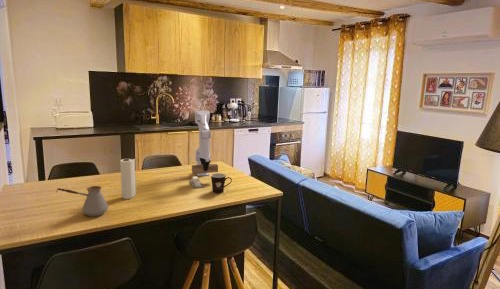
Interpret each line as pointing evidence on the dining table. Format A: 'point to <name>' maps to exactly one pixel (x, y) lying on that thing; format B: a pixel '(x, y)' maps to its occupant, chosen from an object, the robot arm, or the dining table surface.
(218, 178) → the coffee mug
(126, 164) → the paper towel roll
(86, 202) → the coffee pot
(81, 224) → the dining table surface
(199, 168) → the walnut bar
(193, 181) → the ridge
